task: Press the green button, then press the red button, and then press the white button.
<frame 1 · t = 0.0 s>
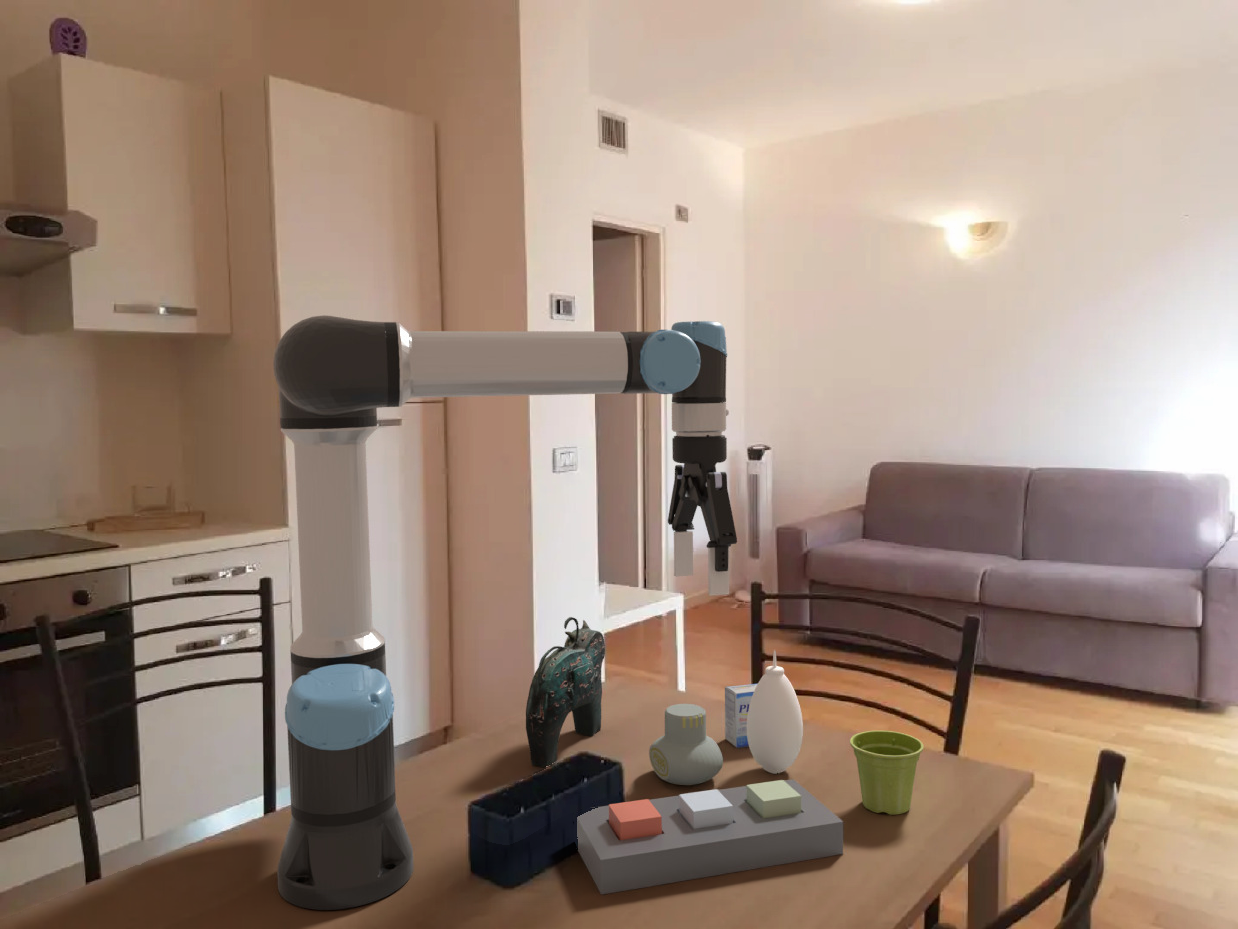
hand: (700, 584, 137), 28 cm above the table, tool pointing down, fingers open, 13 cm apart
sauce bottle: (774, 772, 141), on the table
white button: (705, 812, 118), point 4 cm above the table, slide at 0.0 cm
medicine box: (753, 742, 153), on the table
air freshener: (685, 779, 139), on the table
button panel: (705, 847, 118), on the table
red button: (634, 822, 115), point 4 cm above the table, slide at 0.0 cm
dark green metal figure: (570, 747, 152), on the table
green button: (773, 802, 120), point 4 cm above the table, slide at 0.0 cm
plant pot: (885, 807, 129), on the table
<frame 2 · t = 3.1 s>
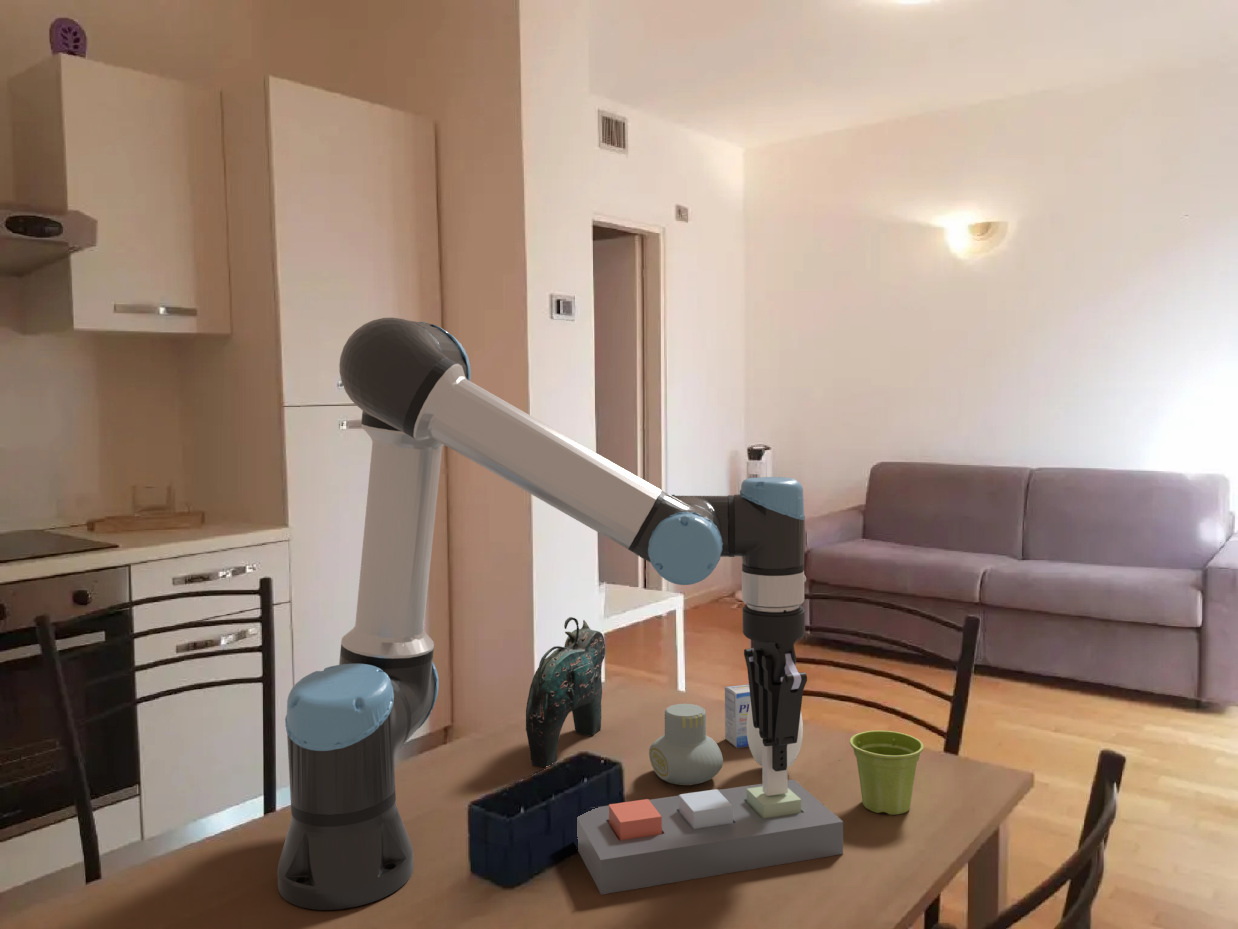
hand: (775, 792, 120), 6 cm above the table, tool pointing down, fingers closed
green button: (773, 805, 120), point 4 cm above the table, slide at 0.5 cm, touching gripper
everything else where it was.
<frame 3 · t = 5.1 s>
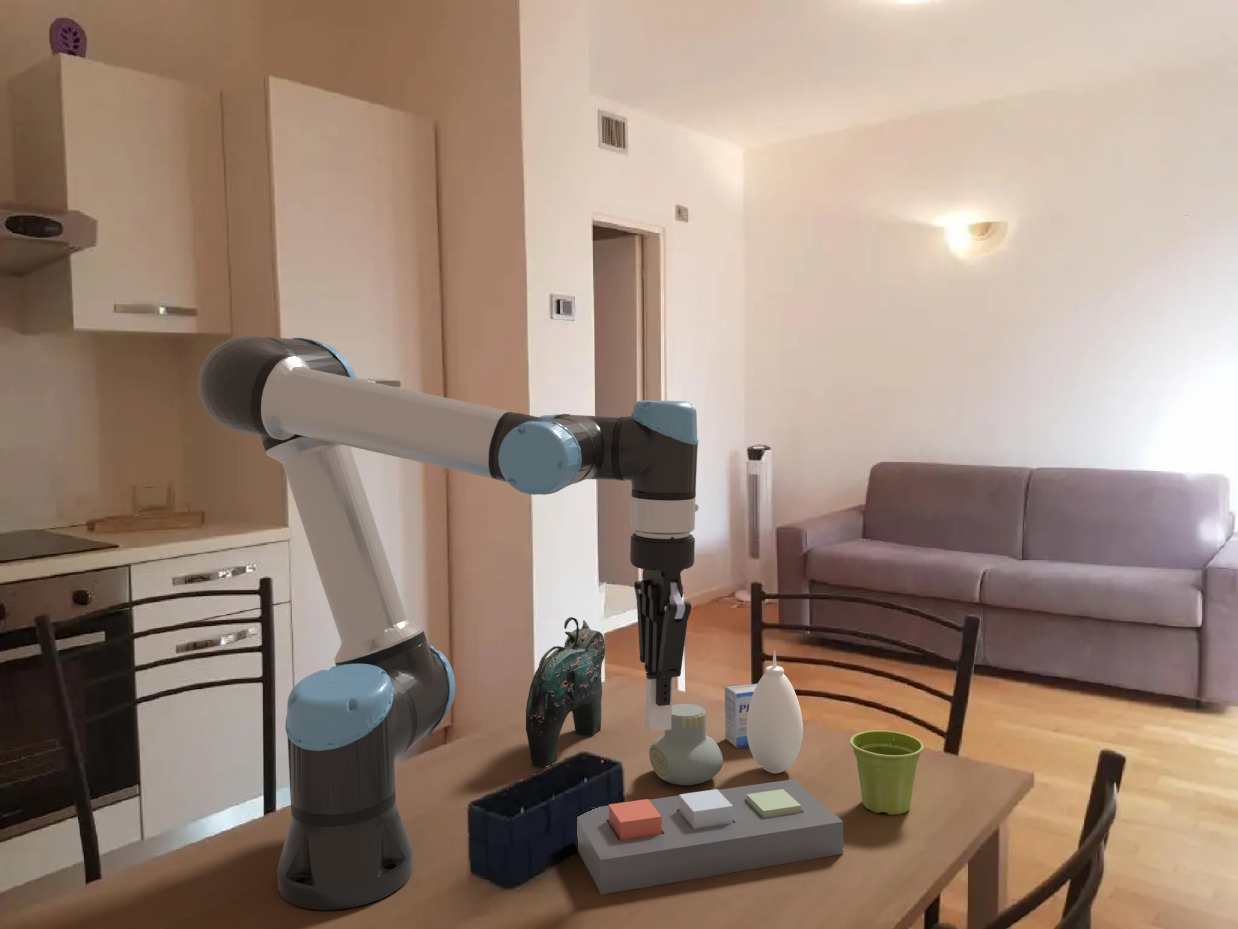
hand: (658, 728, 116), 15 cm above the table, tool pointing down, fingers closed
green button: (773, 811, 120), point 3 cm above the table, slide at 1.2 cm
everything else where it was.
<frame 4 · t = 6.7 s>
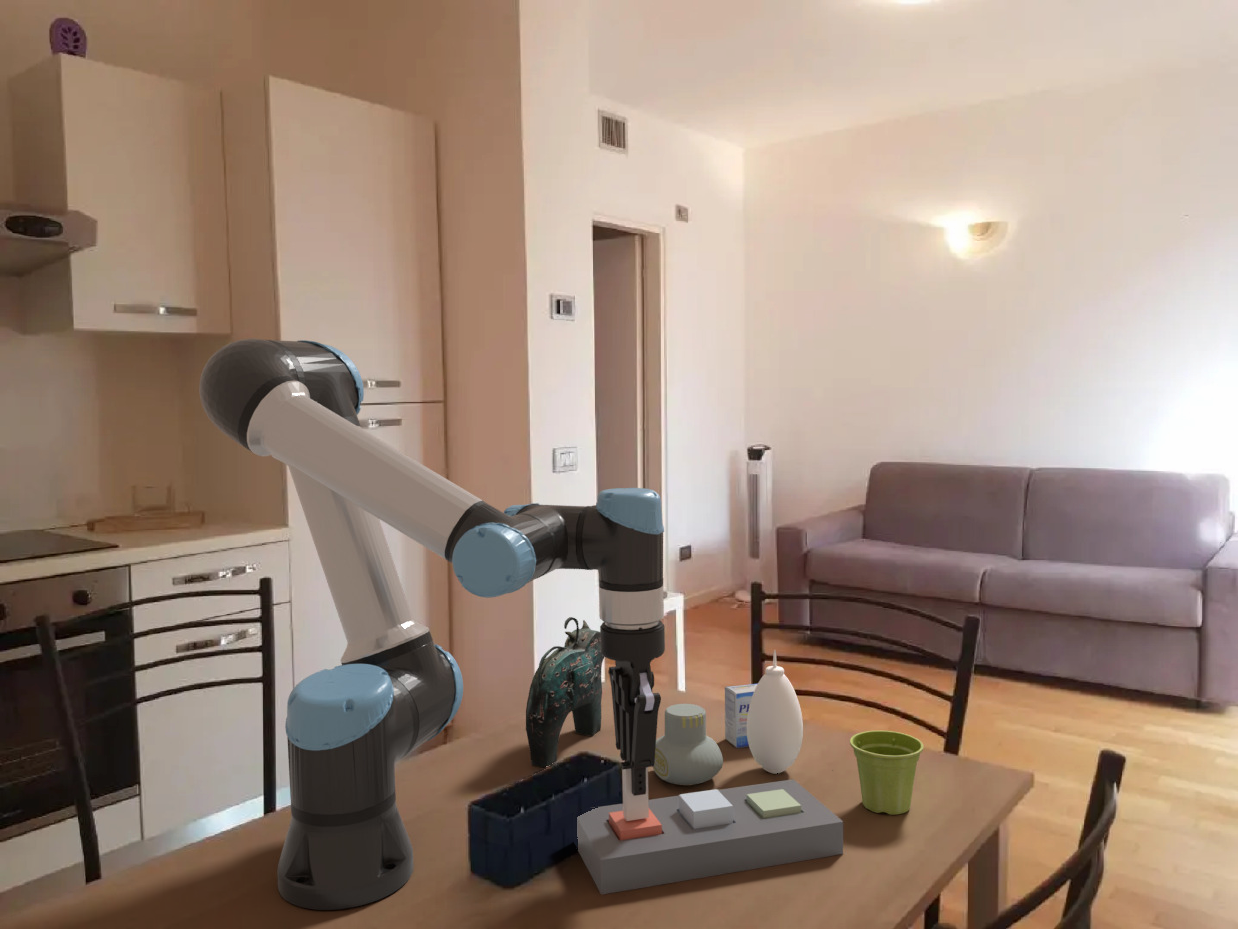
hand: (635, 816, 115), 5 cm above the table, tool pointing down, fingers closed
red button: (635, 831, 115), point 3 cm above the table, slide at 1.0 cm, touching gripper
everything else where it was.
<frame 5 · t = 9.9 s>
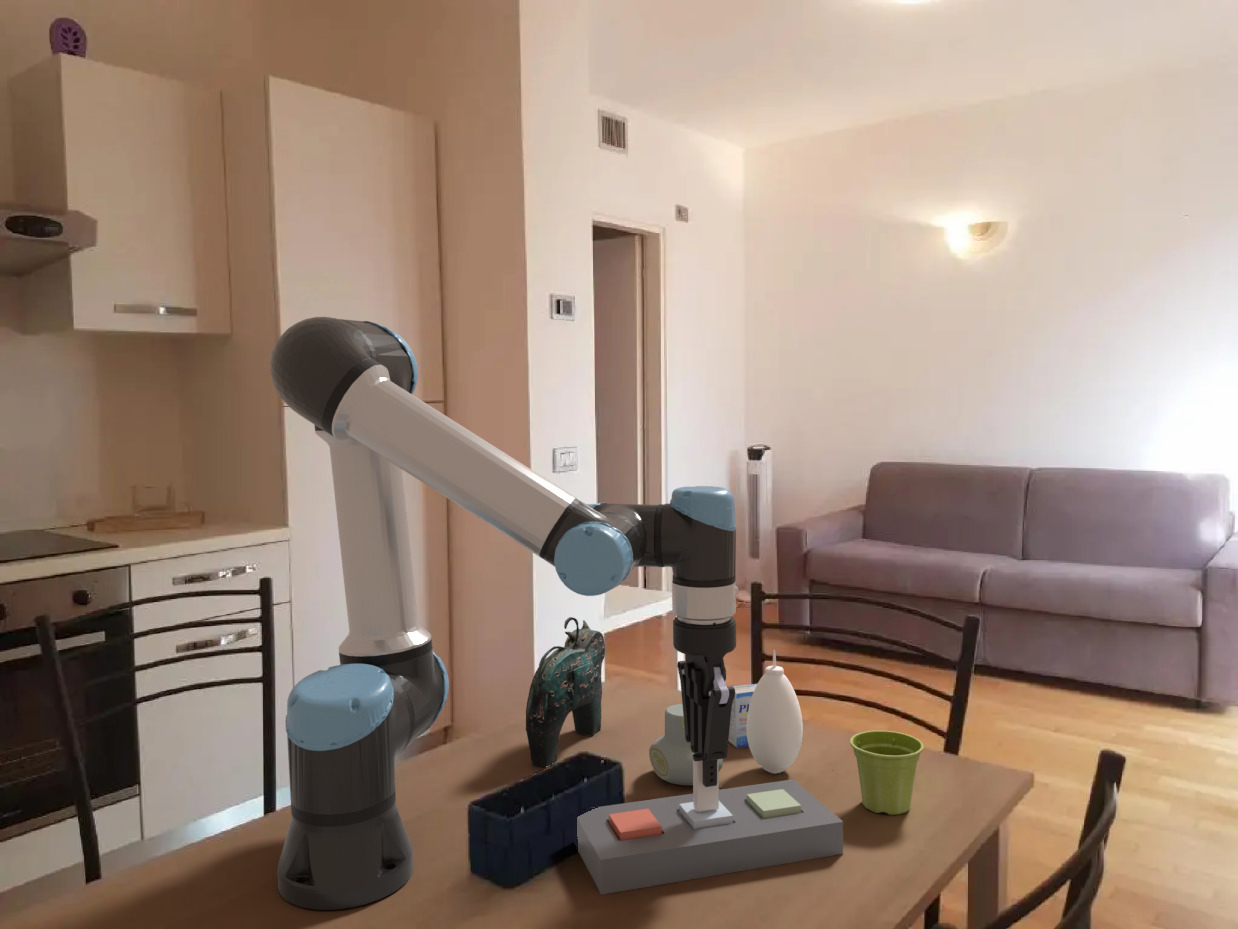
hand: (705, 807, 118), 5 cm above the table, tool pointing down, fingers closed
white button: (705, 821, 118), point 3 cm above the table, slide at 1.2 cm, touching gripper
red button: (635, 832, 115), point 3 cm above the table, slide at 1.2 cm
everything else where it was.
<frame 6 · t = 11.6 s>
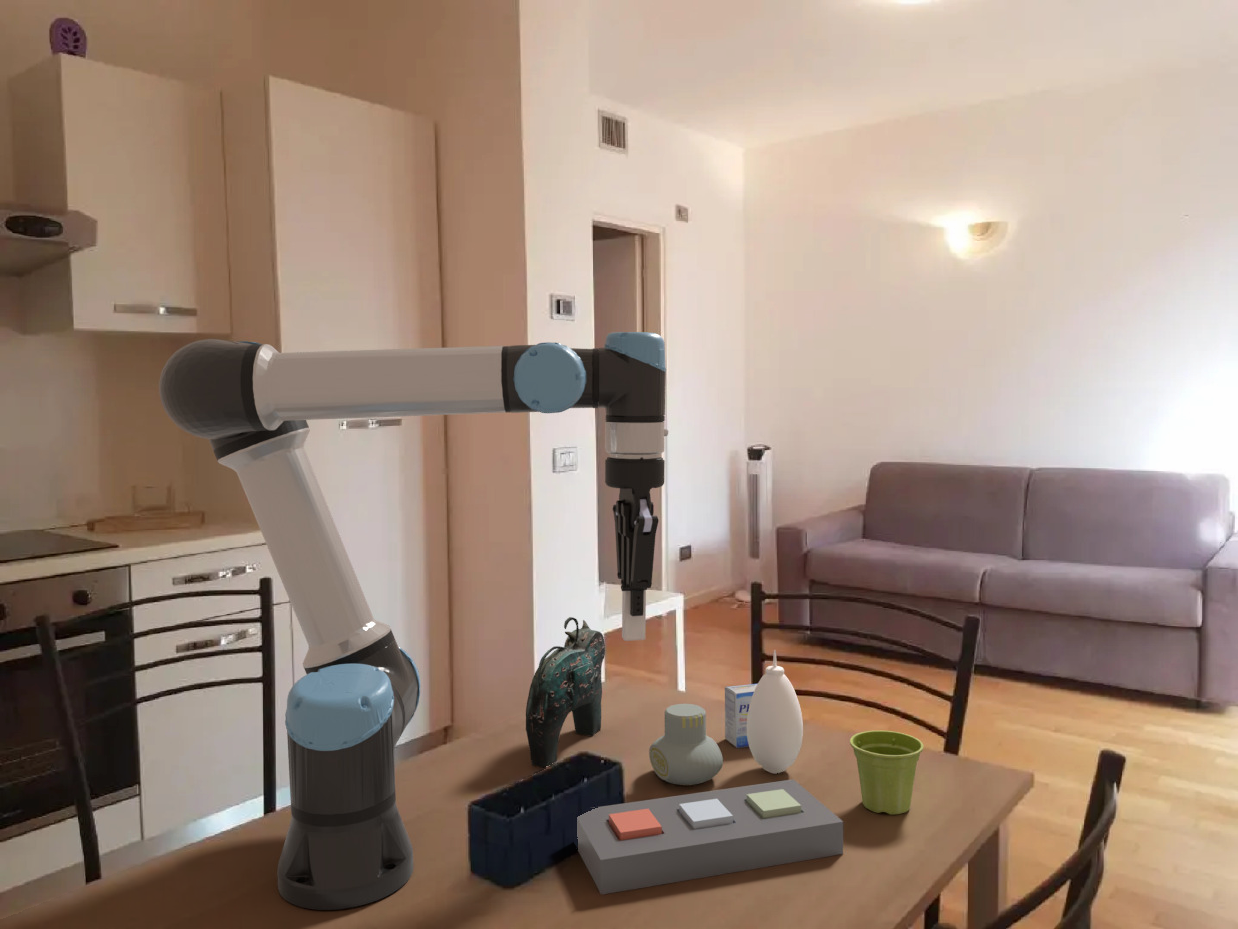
hand: (633, 638, 125), 24 cm above the table, tool pointing down, fingers closed
white button: (705, 821, 118), point 3 cm above the table, slide at 1.2 cm
everything else where it was.
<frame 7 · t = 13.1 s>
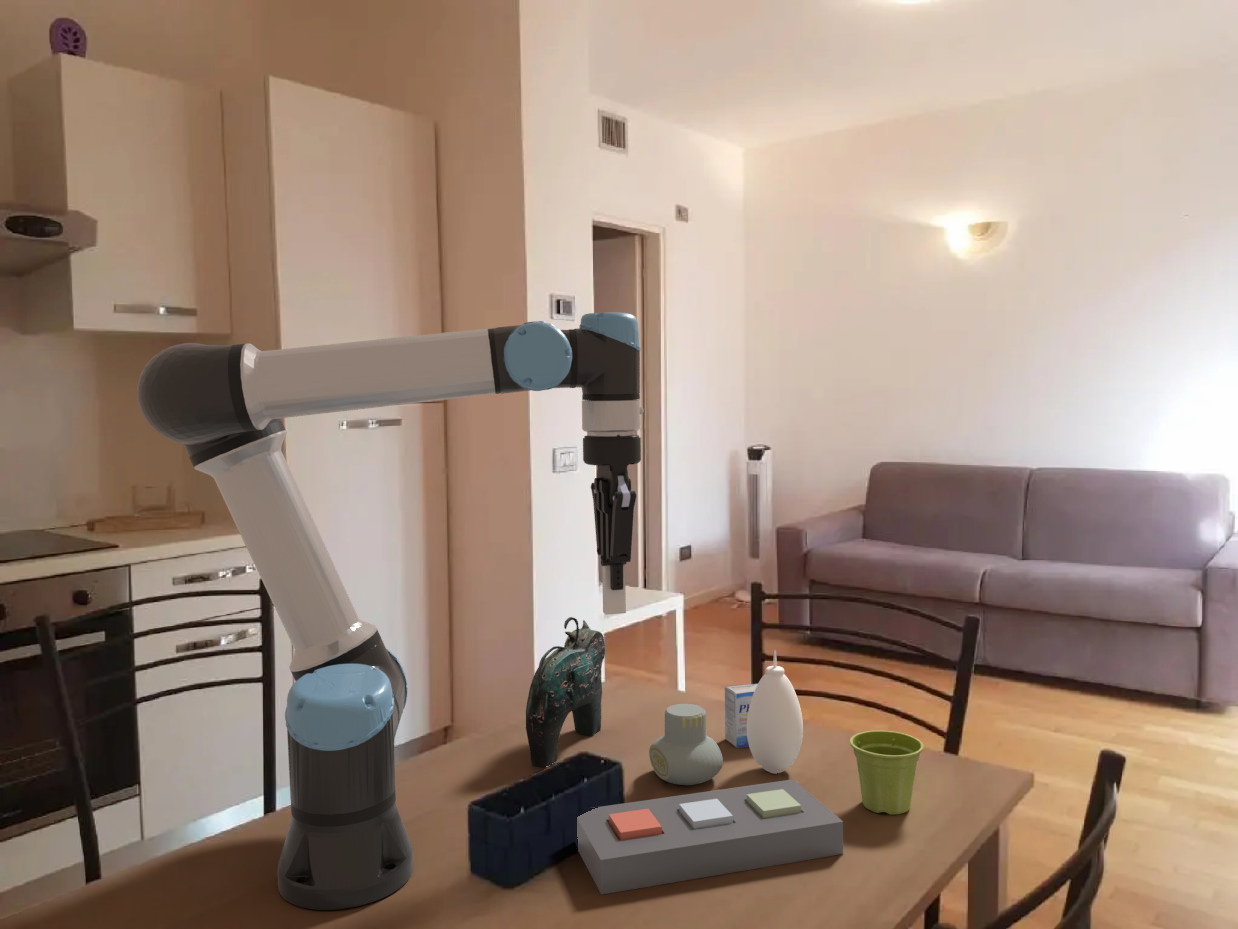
hand: (614, 612, 128), 26 cm above the table, tool pointing down, fingers closed
nothing on the table moved.
at the end: green button slide at 1.2 cm; red button slide at 1.2 cm; white button slide at 1.2 cm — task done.
